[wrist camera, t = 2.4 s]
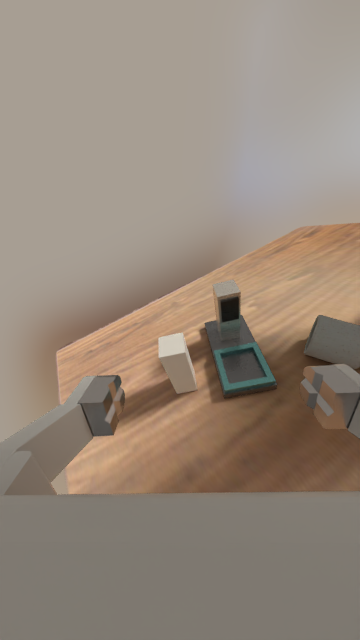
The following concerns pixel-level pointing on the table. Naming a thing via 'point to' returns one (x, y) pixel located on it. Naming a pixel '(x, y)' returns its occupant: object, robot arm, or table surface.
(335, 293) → the table surface
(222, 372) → the tray with white post
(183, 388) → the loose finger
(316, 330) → the ceramic mug
